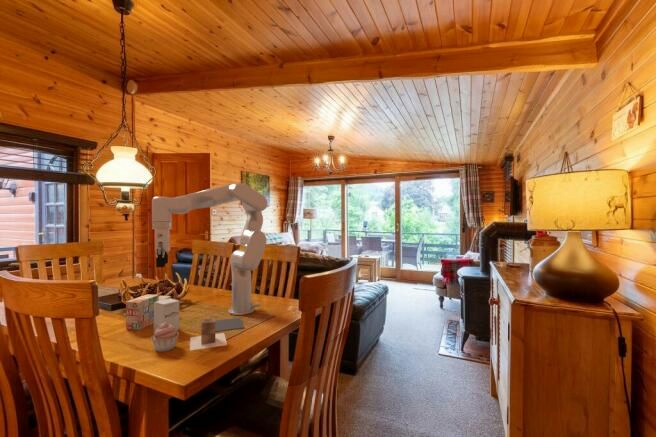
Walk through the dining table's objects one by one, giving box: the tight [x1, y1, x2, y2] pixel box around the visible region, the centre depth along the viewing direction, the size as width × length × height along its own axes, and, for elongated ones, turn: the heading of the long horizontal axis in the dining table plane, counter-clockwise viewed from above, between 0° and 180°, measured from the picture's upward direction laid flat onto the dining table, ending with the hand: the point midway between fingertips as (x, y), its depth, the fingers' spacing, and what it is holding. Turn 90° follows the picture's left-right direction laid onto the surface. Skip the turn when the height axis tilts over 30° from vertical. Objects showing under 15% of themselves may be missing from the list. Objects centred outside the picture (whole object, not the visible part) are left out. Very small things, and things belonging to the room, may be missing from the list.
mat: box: [215, 317, 245, 333], centre depth 142 cm, size 14×14×1 cm
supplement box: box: [153, 298, 180, 332], centre depth 135 cm, size 7×7×13 cm
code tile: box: [189, 332, 228, 351], centre depth 124 cm, size 13×13×1 cm
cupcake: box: [150, 322, 180, 353], centre depth 117 cm, size 9×9×10 cm
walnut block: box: [200, 317, 216, 344], centre depth 124 cm, size 5×5×8 cm
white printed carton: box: [125, 294, 172, 331], centre depth 146 cm, size 21×6×12 cm, turn 169°
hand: (162, 265), depth 136 cm, fingers open, 9 cm apart
